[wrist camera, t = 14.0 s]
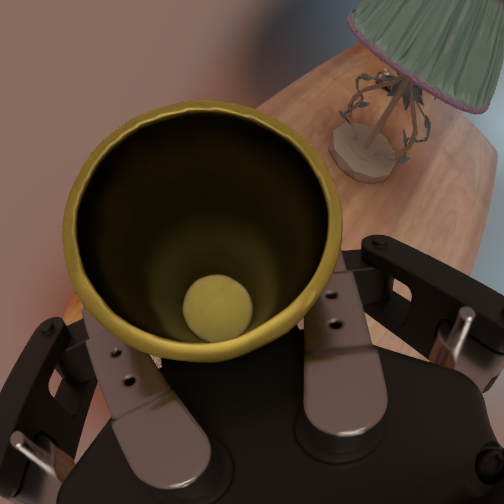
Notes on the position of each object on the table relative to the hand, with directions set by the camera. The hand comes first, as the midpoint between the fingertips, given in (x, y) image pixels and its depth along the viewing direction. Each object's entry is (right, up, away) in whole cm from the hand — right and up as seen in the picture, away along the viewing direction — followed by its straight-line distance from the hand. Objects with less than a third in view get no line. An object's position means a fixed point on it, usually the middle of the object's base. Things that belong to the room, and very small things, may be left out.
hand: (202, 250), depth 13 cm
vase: (0, -4, +6) cm, 7 cm away
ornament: (+35, +41, +45) cm, 70 cm away
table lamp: (+22, +18, +36) cm, 46 cm away
